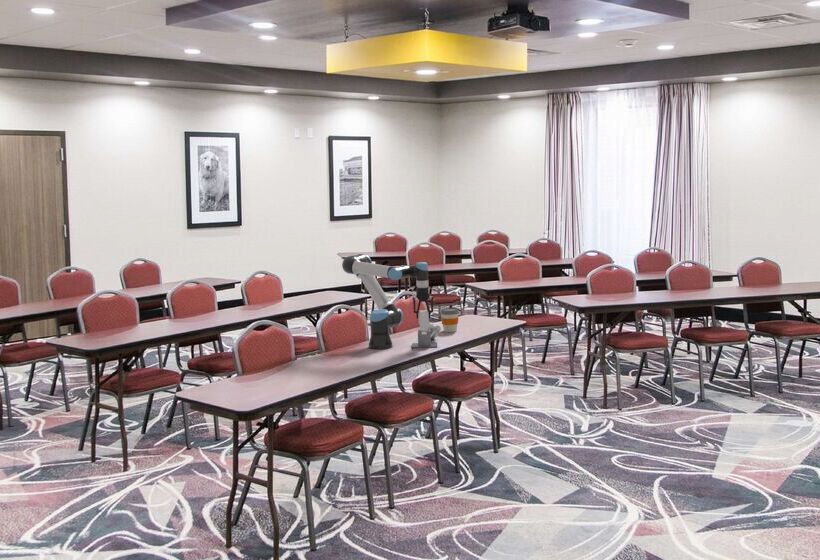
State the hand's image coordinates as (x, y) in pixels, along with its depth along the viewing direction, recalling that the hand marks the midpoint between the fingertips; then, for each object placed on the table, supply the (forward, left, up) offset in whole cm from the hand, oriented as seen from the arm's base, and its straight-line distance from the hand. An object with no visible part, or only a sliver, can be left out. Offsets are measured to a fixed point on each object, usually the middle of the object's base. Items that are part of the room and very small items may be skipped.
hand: (423, 323), depth 549 cm
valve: (+2, +17, -15) cm, 23 cm away
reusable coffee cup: (+18, +51, -15) cm, 56 cm away
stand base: (0, 0, -15) cm, 15 cm away
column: (0, 0, -10) cm, 10 cm away
